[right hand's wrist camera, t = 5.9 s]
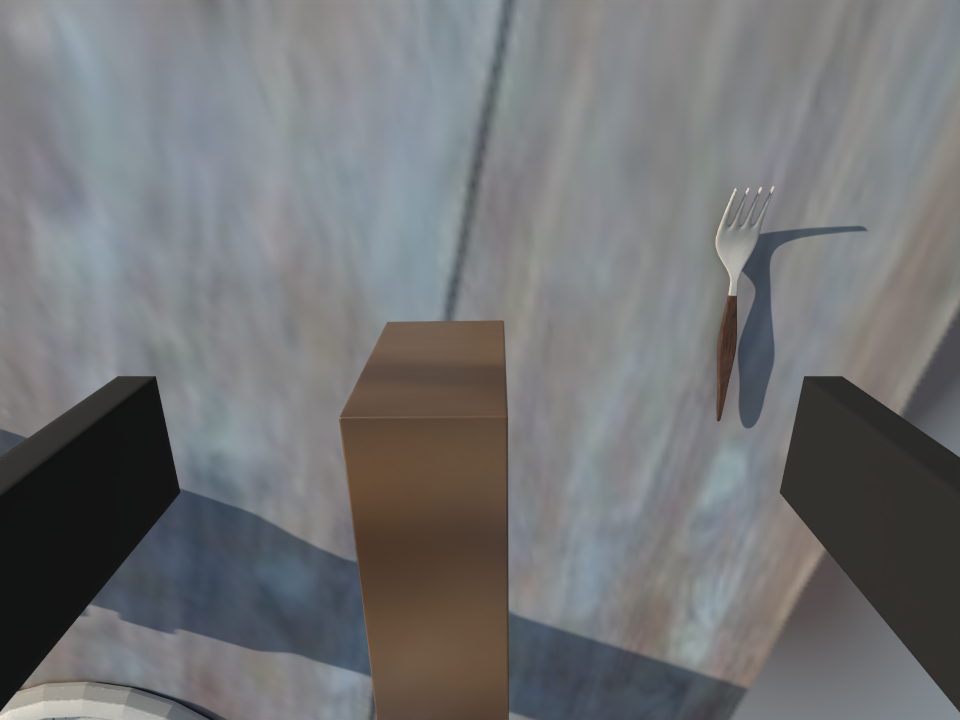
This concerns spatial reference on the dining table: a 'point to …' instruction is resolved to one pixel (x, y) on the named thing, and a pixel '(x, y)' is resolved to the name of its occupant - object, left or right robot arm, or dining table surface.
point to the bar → (433, 518)
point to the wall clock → (92, 704)
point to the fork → (734, 282)
